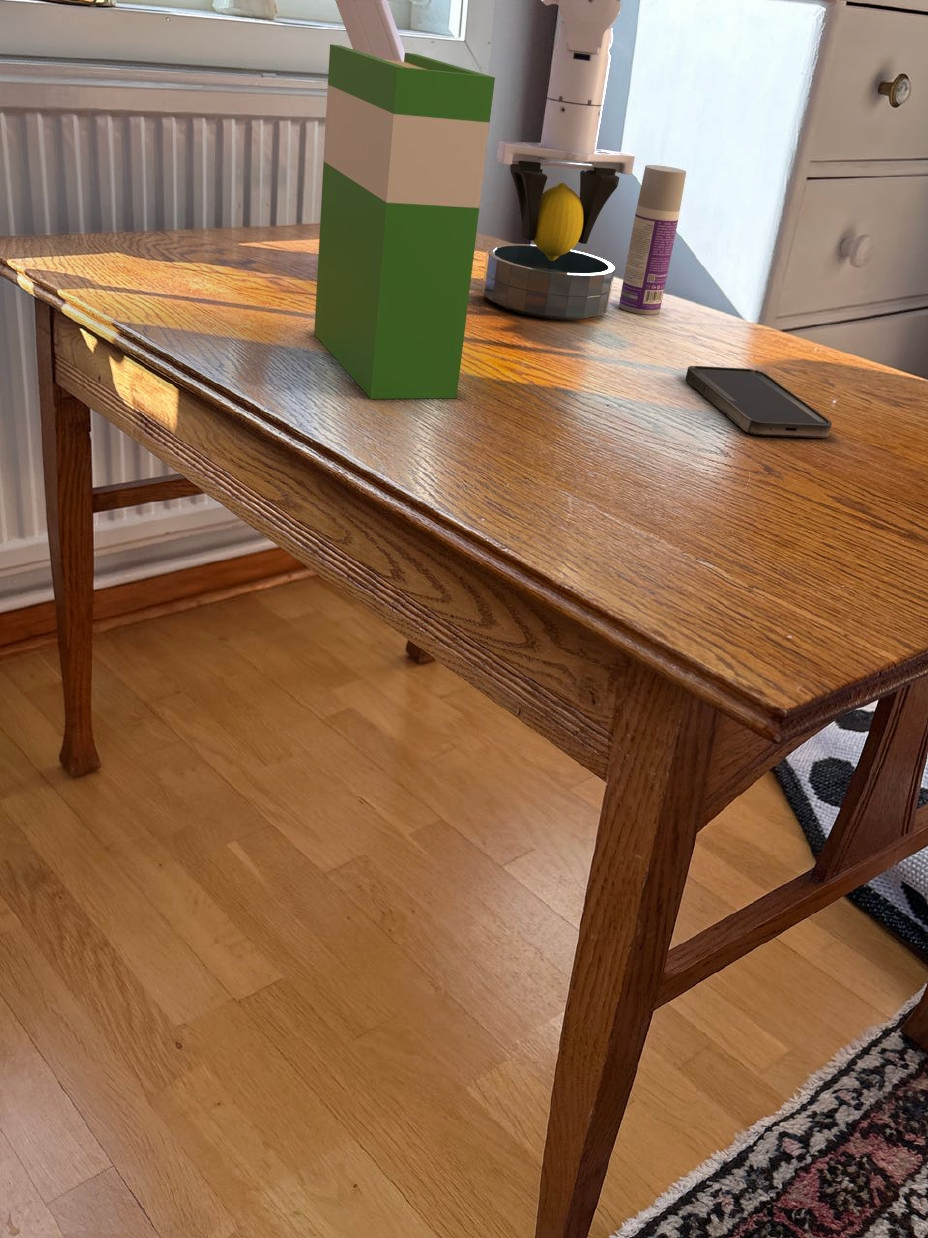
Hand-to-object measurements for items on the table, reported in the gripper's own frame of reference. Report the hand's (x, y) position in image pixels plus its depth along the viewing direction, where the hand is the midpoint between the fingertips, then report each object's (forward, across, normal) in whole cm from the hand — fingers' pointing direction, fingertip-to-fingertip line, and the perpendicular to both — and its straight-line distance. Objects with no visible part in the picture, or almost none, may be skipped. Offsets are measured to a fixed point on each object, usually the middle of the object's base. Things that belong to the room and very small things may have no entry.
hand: (554, 239), depth 121 cm
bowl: (+7, 0, 0) cm, 7 cm away
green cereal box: (+7, -24, -23) cm, 34 cm away
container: (+7, +12, 0) cm, 14 cm away
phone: (+7, +8, -32) cm, 34 cm away
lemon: (+2, 0, 0) cm, 2 cm away
